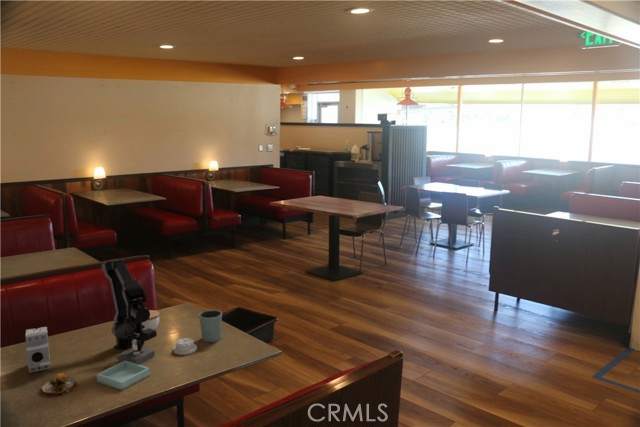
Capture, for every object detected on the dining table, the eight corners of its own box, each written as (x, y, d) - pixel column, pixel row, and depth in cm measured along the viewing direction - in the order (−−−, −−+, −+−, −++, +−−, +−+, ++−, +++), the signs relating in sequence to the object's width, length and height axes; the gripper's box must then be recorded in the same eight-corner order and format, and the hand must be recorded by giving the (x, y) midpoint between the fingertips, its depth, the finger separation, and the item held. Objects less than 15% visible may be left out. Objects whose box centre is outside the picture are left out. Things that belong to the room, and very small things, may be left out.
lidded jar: (139, 325, 259) (138, 307, 258) (162, 324, 261) (161, 306, 259) (134, 334, 249) (133, 315, 247) (158, 333, 250) (157, 314, 248)
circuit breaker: (28, 379, 206) (25, 342, 203) (29, 364, 218) (26, 329, 216) (50, 375, 209) (47, 339, 207) (49, 360, 222) (46, 326, 219)
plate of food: (52, 381, 205) (50, 362, 204) (82, 381, 205) (80, 363, 204) (34, 397, 194) (32, 377, 192) (66, 397, 193) (65, 378, 192)
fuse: (131, 359, 224) (130, 341, 222) (137, 356, 226) (136, 338, 225) (136, 360, 222) (135, 342, 221) (142, 357, 225) (141, 339, 223)
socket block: (118, 360, 222) (118, 354, 222) (137, 351, 231) (137, 345, 230) (136, 365, 218) (136, 360, 217) (154, 356, 226) (154, 350, 226)
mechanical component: (169, 354, 229) (191, 356, 227) (168, 344, 228) (190, 346, 226) (179, 344, 238) (200, 346, 236) (179, 335, 238) (200, 337, 236)
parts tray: (97, 381, 204) (96, 374, 204) (125, 367, 216) (124, 360, 216) (122, 390, 198) (121, 382, 197) (150, 375, 210) (149, 368, 209)
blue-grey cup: (227, 337, 246) (226, 312, 244) (211, 345, 238) (210, 319, 236) (210, 332, 251) (210, 308, 249) (195, 339, 243) (194, 314, 241)
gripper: (102, 317, 218) (105, 353, 221) (135, 325, 209) (137, 363, 212) (124, 308, 228) (126, 343, 231) (156, 316, 219) (158, 352, 222)
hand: (136, 350), depth 224 cm, fingers closed on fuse, 3 cm apart
